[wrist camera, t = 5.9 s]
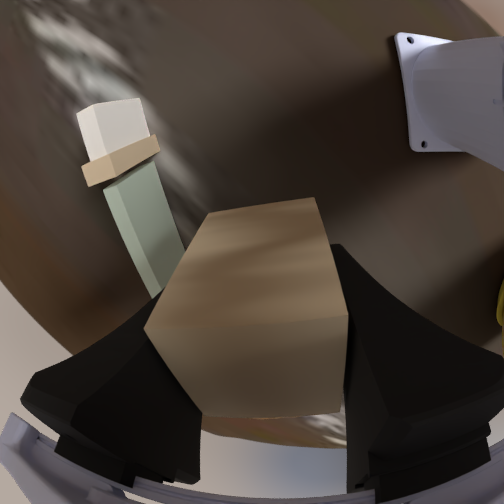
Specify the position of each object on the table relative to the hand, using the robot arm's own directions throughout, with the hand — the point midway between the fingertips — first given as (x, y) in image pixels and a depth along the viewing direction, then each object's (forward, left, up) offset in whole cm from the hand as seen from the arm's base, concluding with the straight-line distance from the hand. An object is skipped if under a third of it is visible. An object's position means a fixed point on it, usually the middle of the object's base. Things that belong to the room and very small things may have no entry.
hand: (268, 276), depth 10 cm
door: (+8, +1, -9) cm, 12 cm away
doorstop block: (0, 0, -2) cm, 2 cm away
